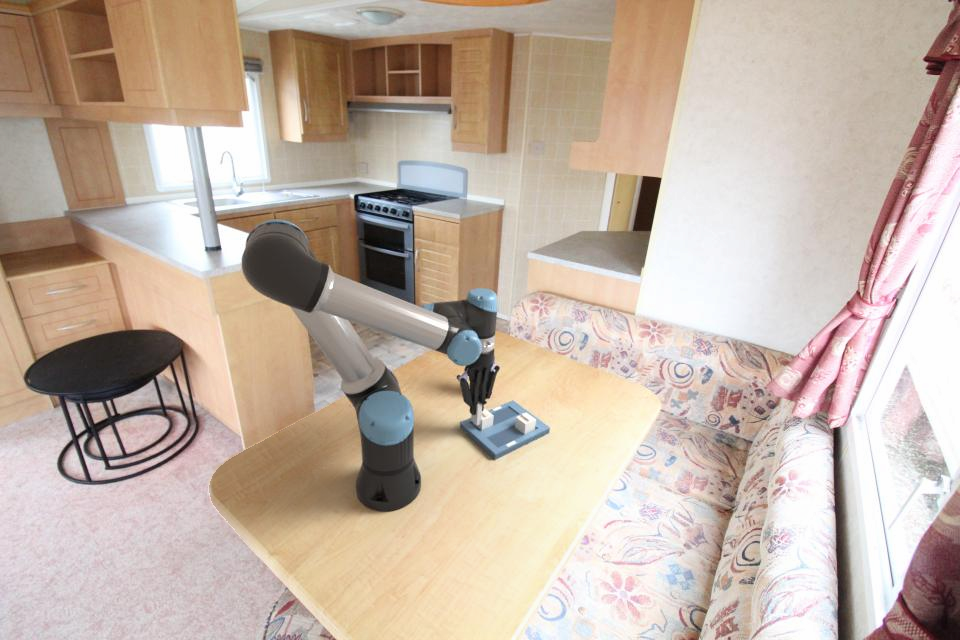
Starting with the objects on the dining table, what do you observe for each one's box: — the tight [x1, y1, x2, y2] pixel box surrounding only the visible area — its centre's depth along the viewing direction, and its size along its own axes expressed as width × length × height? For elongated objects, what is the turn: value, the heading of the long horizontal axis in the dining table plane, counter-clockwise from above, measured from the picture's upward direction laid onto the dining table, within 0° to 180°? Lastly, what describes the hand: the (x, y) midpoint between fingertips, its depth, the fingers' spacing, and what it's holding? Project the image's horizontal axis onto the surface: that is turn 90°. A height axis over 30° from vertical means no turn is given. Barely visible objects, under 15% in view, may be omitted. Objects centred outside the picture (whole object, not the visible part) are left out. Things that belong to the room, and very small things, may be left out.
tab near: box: [515, 412, 536, 435], centre depth 130 cm, size 4×4×4 cm
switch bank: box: [459, 399, 551, 461], centre depth 132 cm, size 20×16×2 cm
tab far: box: [474, 408, 494, 430], centre depth 131 cm, size 4×4×4 cm
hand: (476, 421), depth 129 cm, fingers closed
